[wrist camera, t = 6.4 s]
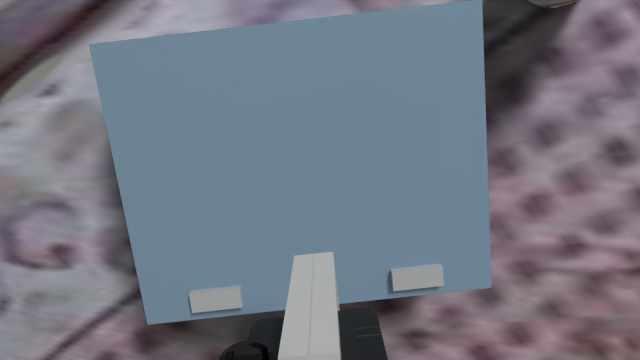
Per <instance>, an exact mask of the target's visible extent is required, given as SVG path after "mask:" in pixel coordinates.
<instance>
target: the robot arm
mask: <svg viewBox="0 0 640 360" xmlns="http://www.w3.org/2000/svg"><path fill="white" fill-rule="evenodd" d="M220 360H388V359H387V355H386V351H385V346H384V342H383V338H382V335H381V330H380V326H379V321H378V317H377V315H376V314H375V313H374V312H373V311H372V310H371V309H369V308H363V309H353V310H342V311H340V309H339V300H338V291H337V282H336V273H335V264H334V255H333V252H325V253H315V254H305V255H296V256H294V261H293V267H292V273H291V279H290V286H289V292H288V298H287V304H286V310H285V316H284V317H283V318H273V319H263V320H259V321H258V322H257V323H256V324H255V325H254V326H253V327H252V328H251V330H250V334H249V337H248V340H246V341H241V342H239V343H236V344H234V345H232V346H230V347H229V348H227V349H226V350H225V351H224V352H223V353H222V355H221V356H220Z"/></svg>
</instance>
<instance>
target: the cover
mask: <svg viewBox="0 0 640 360" xmlns="http://www.w3.org/2000/svg"><path fill="white" fill-rule="evenodd" d="M89 46H90V51H91V56H92V61H93V66H94V70H95V75H96V80H97V85H98V89H99V94H100V99H101V104H102V109H103V113H104V118H105V123H106V128H107V133H108V137H109V142H110V147H111V152H112V157H113V161H114V166H115V171H116V176H117V181H118V185H119V190H120V195H121V200H122V204H123V209H124V214H125V219H126V224H127V228H128V233H129V238H130V243H131V248H132V252H133V257H134V262H135V267H136V272H137V276H138V281H139V286H140V291H141V296H142V300H143V305H144V310H145V315H146V320H147V324H148V325H150V324H160V323H169V322H178V321H187V320H196V319H206V318H215V317H224V316H233V315H243V314H252V313H261V312H270V311H279V310H286V304H287V298H288V292H289V286H290V279H291V273H292V267H293V261H294V256H296V255H305V254H315V253H325V252H333V255H334V264H335V273H336V282H337V291H338V300H339V304H344V303H353V302H363V301H372V300H381V299H390V298H399V297H409V296H418V295H427V294H436V293H446V292H455V291H464V290H473V289H483V288H492V282H491V252H490V222H489V192H488V161H487V131H486V101H485V70H484V40H483V10H482V0H473V1H464V2H456V3H447V4H438V5H429V6H420V7H412V8H403V9H394V10H385V11H377V12H368V13H359V14H350V15H341V16H333V17H324V18H315V19H306V20H298V21H289V22H280V23H271V24H262V25H254V26H245V27H236V28H227V29H219V30H210V31H201V32H192V33H183V34H175V35H166V36H157V37H148V38H140V39H131V40H122V41H113V42H104V43H96V44H89Z"/></svg>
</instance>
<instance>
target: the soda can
mask: <svg viewBox="0 0 640 360" xmlns="http://www.w3.org/2000/svg"><path fill="white" fill-rule="evenodd" d="M528 1H529V2H531V3H533V4H535V5H537V6H540V7H545V8H559V7H563V6H566V5H569V4H571V3H573V2H576V1H579V0H528Z"/></svg>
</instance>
